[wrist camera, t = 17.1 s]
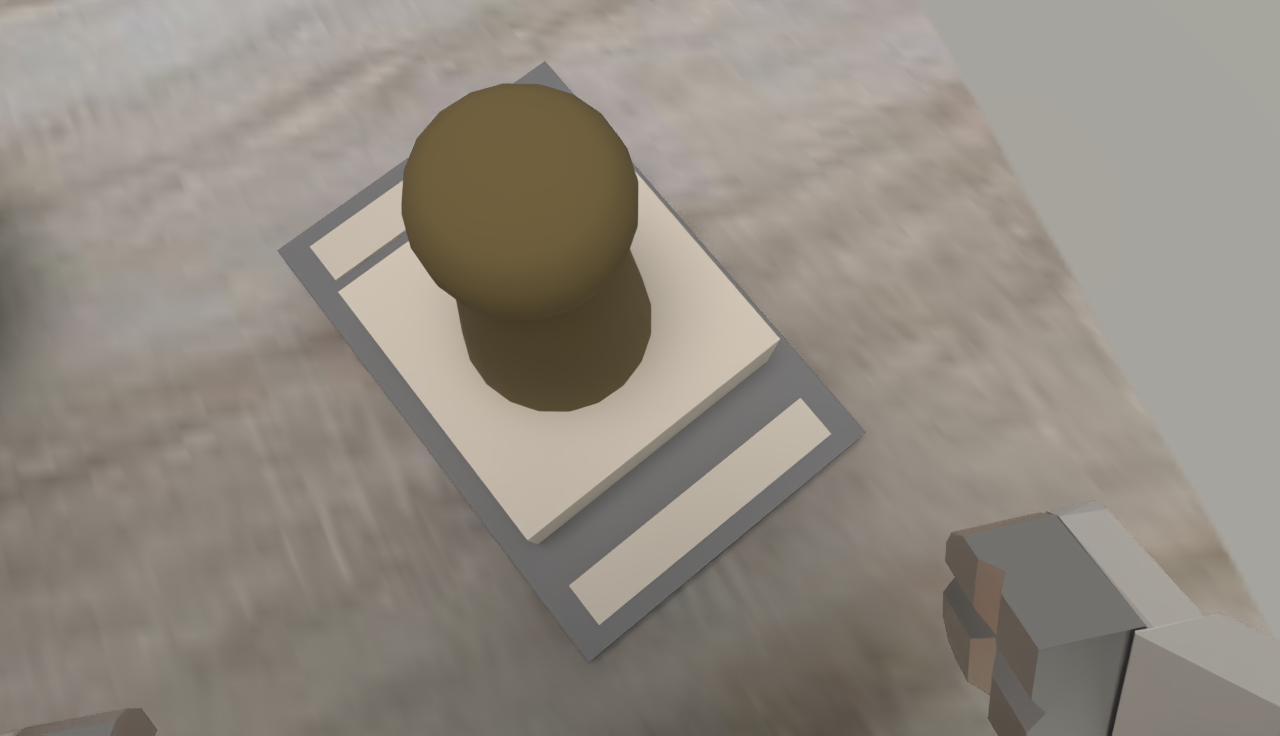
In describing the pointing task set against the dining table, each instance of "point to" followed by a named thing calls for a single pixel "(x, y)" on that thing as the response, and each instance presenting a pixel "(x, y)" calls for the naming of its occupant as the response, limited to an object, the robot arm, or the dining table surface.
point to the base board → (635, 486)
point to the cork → (532, 242)
